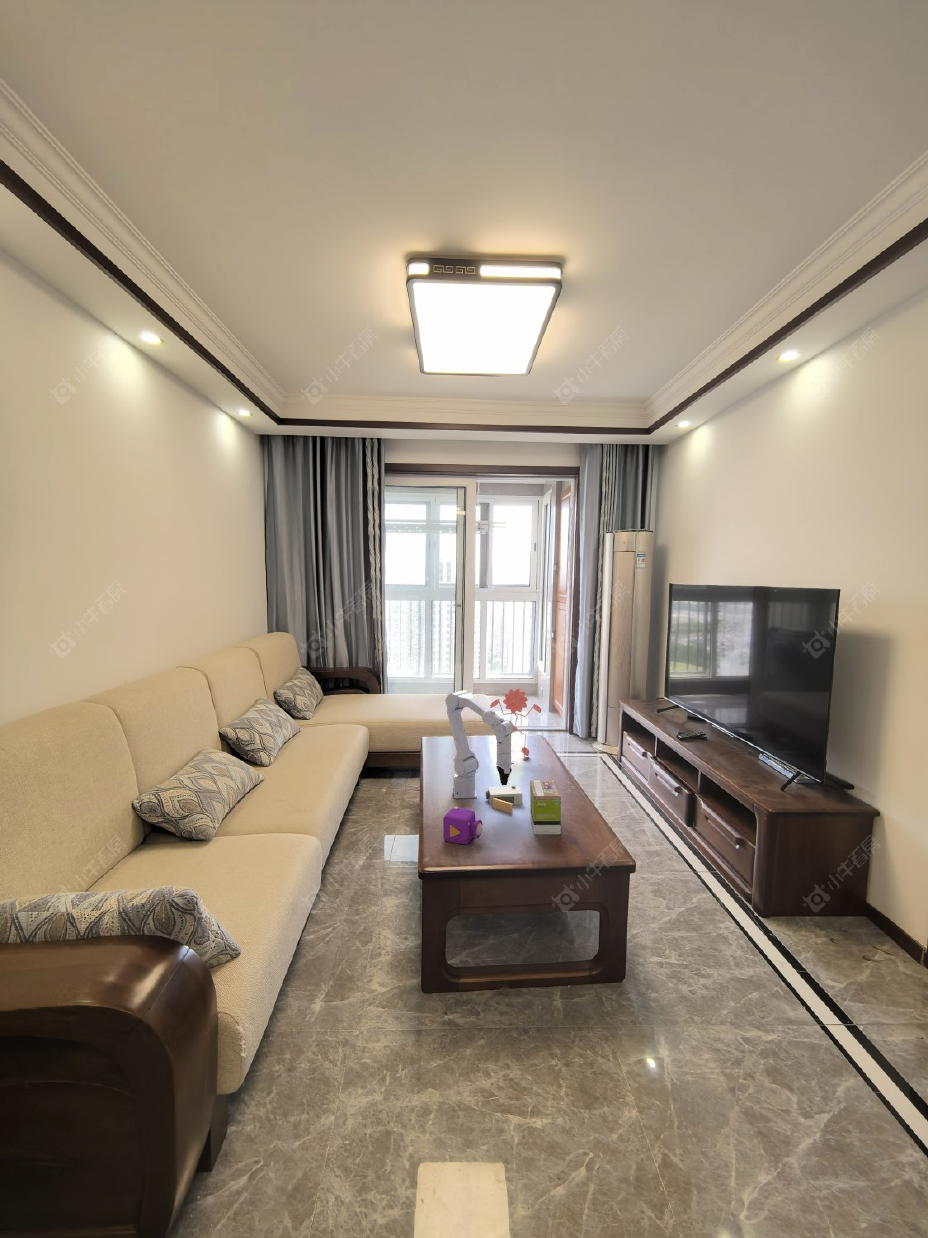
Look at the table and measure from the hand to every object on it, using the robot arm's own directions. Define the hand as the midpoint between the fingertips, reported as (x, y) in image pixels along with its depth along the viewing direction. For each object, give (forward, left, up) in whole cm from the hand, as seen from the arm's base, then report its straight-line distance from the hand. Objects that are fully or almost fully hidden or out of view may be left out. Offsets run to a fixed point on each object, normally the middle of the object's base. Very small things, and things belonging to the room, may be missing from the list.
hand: (503, 784), depth 216 cm
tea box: (+12, -17, -10) cm, 23 cm away
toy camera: (-18, -24, -10) cm, 32 cm away
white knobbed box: (+2, +6, -9) cm, 11 cm away
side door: (-1, -2, -9) cm, 10 cm away
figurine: (+16, +60, -10) cm, 63 cm away
